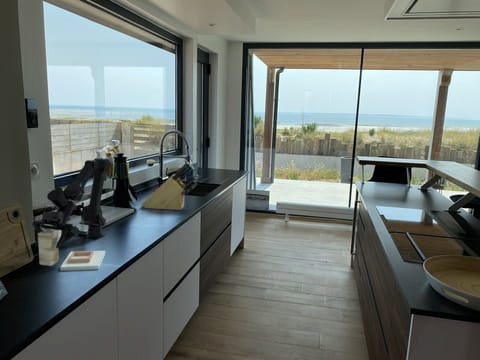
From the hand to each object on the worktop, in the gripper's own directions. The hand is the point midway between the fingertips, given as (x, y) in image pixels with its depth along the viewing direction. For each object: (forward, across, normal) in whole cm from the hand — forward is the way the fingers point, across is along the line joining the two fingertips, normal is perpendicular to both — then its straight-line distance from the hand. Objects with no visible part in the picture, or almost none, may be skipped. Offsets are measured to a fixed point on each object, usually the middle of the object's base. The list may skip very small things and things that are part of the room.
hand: (46, 246), depth 146 cm
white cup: (-10, -14, +21) cm, 27 cm away
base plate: (+1, +12, +9) cm, 15 cm away
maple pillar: (+4, 0, +6) cm, 7 cm away
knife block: (-65, +14, +75) cm, 100 cm away
